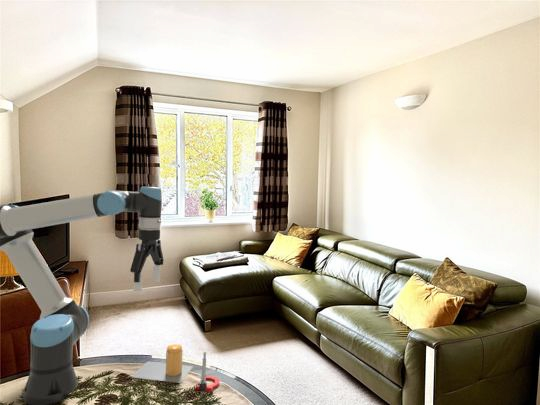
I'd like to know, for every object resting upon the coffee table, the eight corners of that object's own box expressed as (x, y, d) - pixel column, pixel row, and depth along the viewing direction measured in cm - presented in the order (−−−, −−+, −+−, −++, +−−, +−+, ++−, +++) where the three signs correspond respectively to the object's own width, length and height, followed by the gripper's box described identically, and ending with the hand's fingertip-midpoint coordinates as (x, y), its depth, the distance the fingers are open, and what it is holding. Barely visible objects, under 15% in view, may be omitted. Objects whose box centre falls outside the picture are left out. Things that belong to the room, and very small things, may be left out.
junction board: (130, 381, 127) (131, 362, 127) (147, 365, 139) (147, 348, 138) (180, 387, 124) (181, 368, 124) (193, 370, 136) (193, 353, 136)
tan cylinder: (163, 375, 129) (164, 349, 128) (169, 368, 134) (170, 343, 133) (177, 376, 128) (178, 351, 128) (183, 369, 133) (184, 345, 133)
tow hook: (199, 377, 132) (189, 390, 123) (201, 341, 132) (192, 351, 123) (222, 380, 130) (214, 393, 121) (223, 344, 131) (216, 354, 122)
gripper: (141, 233, 122) (139, 296, 123) (173, 226, 147) (171, 279, 147) (120, 231, 123) (118, 294, 124) (156, 225, 148) (154, 277, 148)
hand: (147, 286), depth 135 cm, fingers open, 13 cm apart
